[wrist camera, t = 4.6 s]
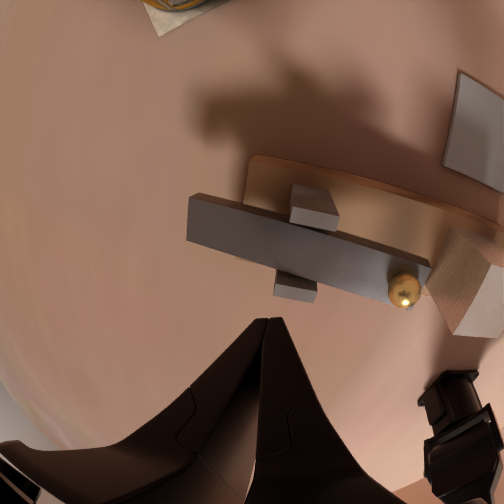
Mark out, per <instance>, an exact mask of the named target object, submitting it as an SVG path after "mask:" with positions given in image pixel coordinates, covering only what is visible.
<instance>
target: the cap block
mask: <svg viewBox="0 0 504 504" xmlns="http://www.w3.org/2000/svg"><path fill="white" fill-rule="evenodd" d="M425 286H426V288H427V290H428V291H429V293H430V295H431V296H432V298H433V300H434V301H435V303H436V305H437V307H438V309H439V310H440V312H441V314H442V316H443V318H444V319H445V321H446V323H447V325H448V327H449V329H450V331H451V333H452V335H460V336H472V337H486V338H499V336H500V335H501V333H502V332H503V330H504V248H502V247H501V246H500V245H499V244H498V243H497V242H496V241H495V240H493V239H490V238H487V237H485V236H482V235H479V234H476V233H473V232H471V231H468V230H465V229H462V228H459V227H456V226H453V225H450V227H449V230H448V233H447V235H446V238H445V240H444V243H443V245H442V248H441V250H440V253H439V255H438V257H437V260H436V262H435V264H434V267H433V269H432V271H431V273H430V275H429V278H428V280H427V282H426V284H425Z"/></svg>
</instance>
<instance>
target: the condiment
mask: <svg viewBox="0 0 504 504" xmlns="http://www.w3.org/2000/svg"><path fill="white" fill-rule="evenodd" d="M141 1H143V4H144V6H145V8H146V10H147V12H148V14H149V16H150V19H151V21H152V23H153V25H154V28H155V30H156V32H157V34H158V36H159V37H160V36H162V35H163V34H165V33H167V32H169V31H170V30H172V29H174V28H176V27H178V26H180V25H182V24H183V23H185V22H187V21H188V20H191V19H193V18H195V17H197V16H199V15H201V14H203V13H204V12H207V11H209V10H211V9H213V8H215V7H217V6H219V5H221V4H223V3H225V2H227V1H230V0H141Z"/></svg>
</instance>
